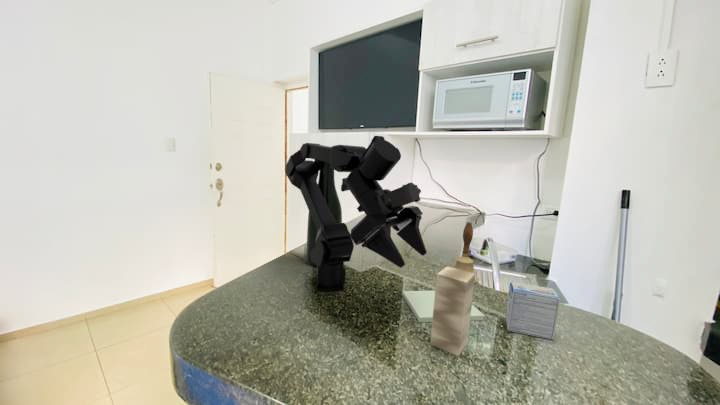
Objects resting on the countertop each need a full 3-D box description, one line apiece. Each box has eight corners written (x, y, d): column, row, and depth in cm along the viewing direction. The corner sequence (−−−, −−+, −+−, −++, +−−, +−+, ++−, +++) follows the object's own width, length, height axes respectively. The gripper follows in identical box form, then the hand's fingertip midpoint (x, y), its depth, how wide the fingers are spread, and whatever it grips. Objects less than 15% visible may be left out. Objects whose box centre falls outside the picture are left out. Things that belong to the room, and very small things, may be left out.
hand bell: (443, 272, 87) (448, 219, 85) (468, 272, 89) (474, 219, 87) (457, 284, 79) (463, 226, 77) (485, 283, 81) (492, 226, 79)
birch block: (430, 344, 52) (436, 274, 50) (440, 331, 56) (447, 266, 54) (458, 356, 49) (466, 282, 48) (467, 342, 53) (475, 273, 52)
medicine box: (547, 329, 59) (554, 288, 58) (554, 341, 55) (561, 297, 54) (504, 320, 62) (509, 280, 61) (507, 331, 58) (513, 289, 57)
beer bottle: (340, 256, 96) (345, 153, 91) (340, 268, 86) (346, 153, 81) (308, 255, 95) (311, 151, 91) (304, 267, 85) (307, 151, 80)
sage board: (419, 322, 59) (419, 317, 59) (402, 295, 71) (402, 291, 71) (484, 320, 61) (484, 315, 61) (456, 294, 73) (457, 290, 73)
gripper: (368, 168, 49) (425, 247, 44) (417, 168, 64) (463, 228, 59) (330, 208, 54) (377, 282, 50) (383, 200, 69) (423, 256, 65)
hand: (414, 259), depth 56 cm, fingers open, 9 cm apart
